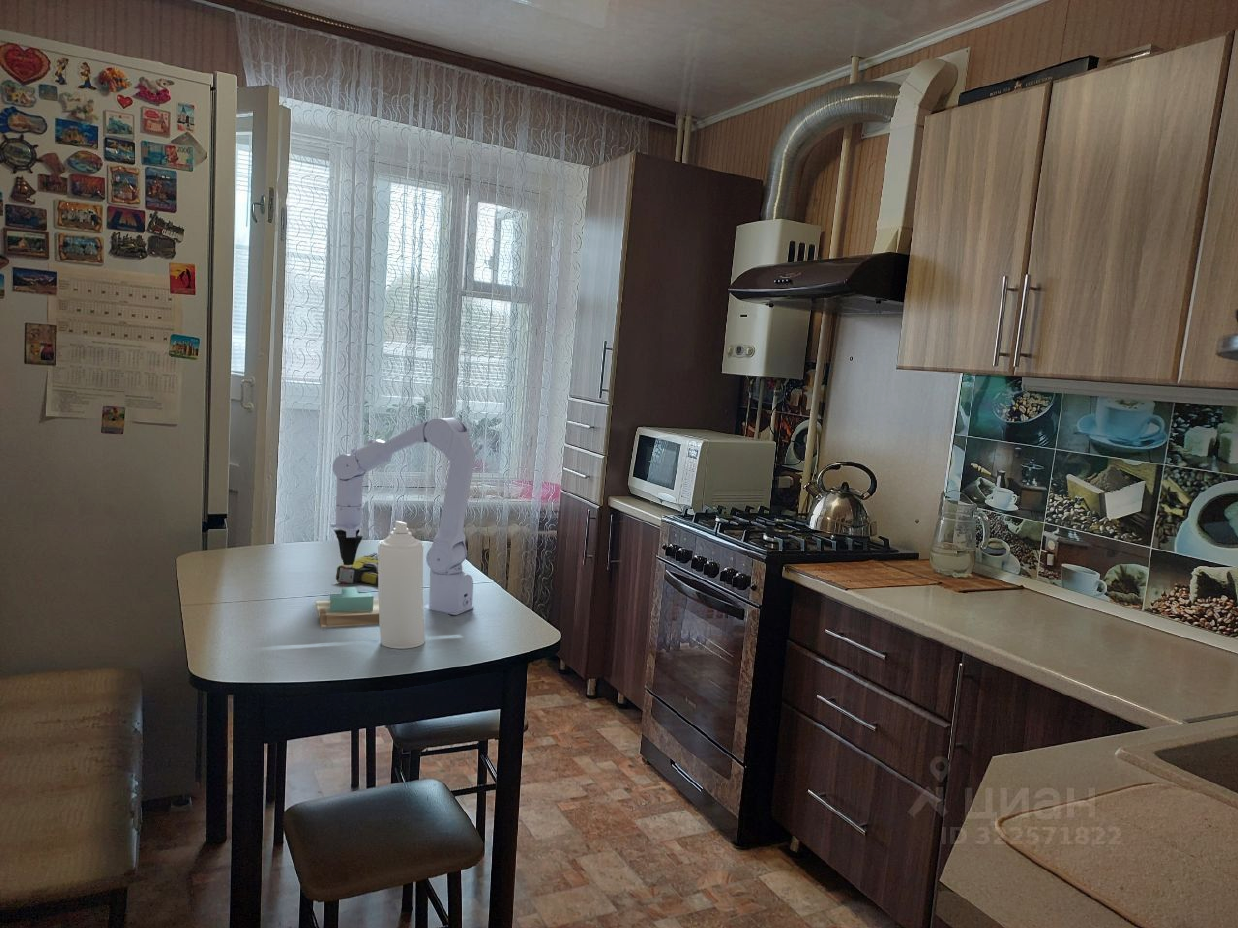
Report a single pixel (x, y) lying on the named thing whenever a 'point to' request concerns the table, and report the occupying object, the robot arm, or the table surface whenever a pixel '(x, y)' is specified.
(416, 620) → the spray can
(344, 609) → the t block
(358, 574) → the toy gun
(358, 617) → the board
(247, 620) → the table surface
